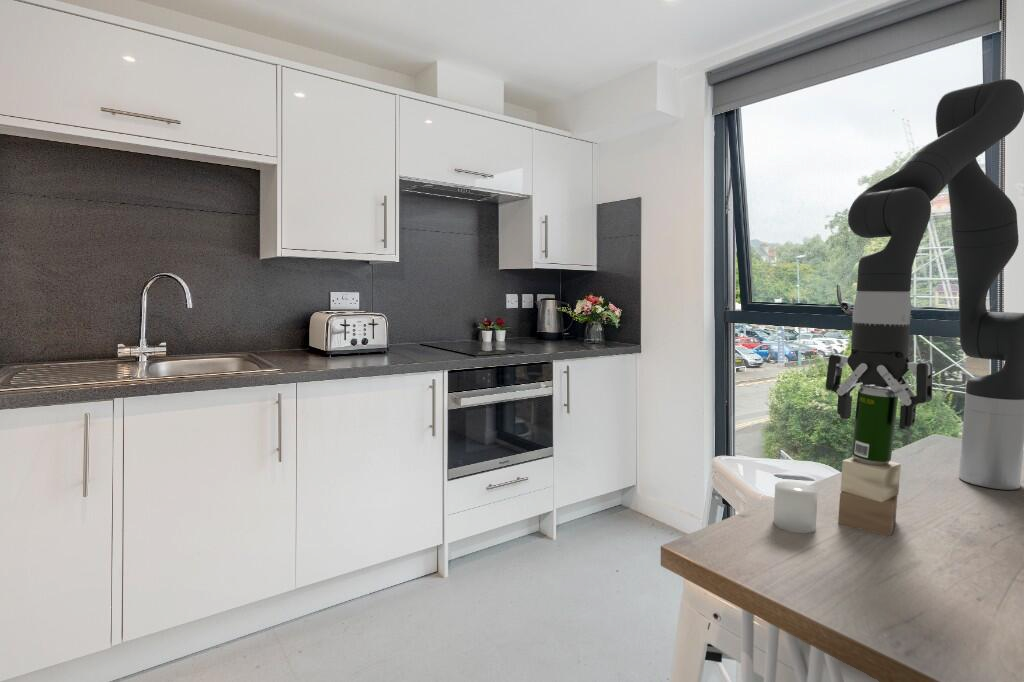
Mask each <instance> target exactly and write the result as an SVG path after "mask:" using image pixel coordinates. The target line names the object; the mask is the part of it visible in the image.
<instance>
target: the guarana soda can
mask: <svg viewBox="0 0 1024 682" xmlns="http://www.w3.org/2000/svg"><path fill="white" fill-rule="evenodd" d="M859 387H860V388H859V389H858V391H857V398H856V407H855V417H854V427H853V435H852V442H851V443H852V444H851V457H853V459H854V460H856V461H858V462H861V463H865V464H869V465H876V466H885V465H887V464H888V463H889V462H890V461H891V462H892V454H893V445H894V444H893V443H894V437H895V427H896V419H897V411H898V401H899V397H898V396H897V394H896V393H894V392H893V391H892V389H891V388H890V387H889V386H888V387H879V386H877V385H874V384H873V385H864V384H863V383H861V384H860V385H859Z"/></svg>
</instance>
